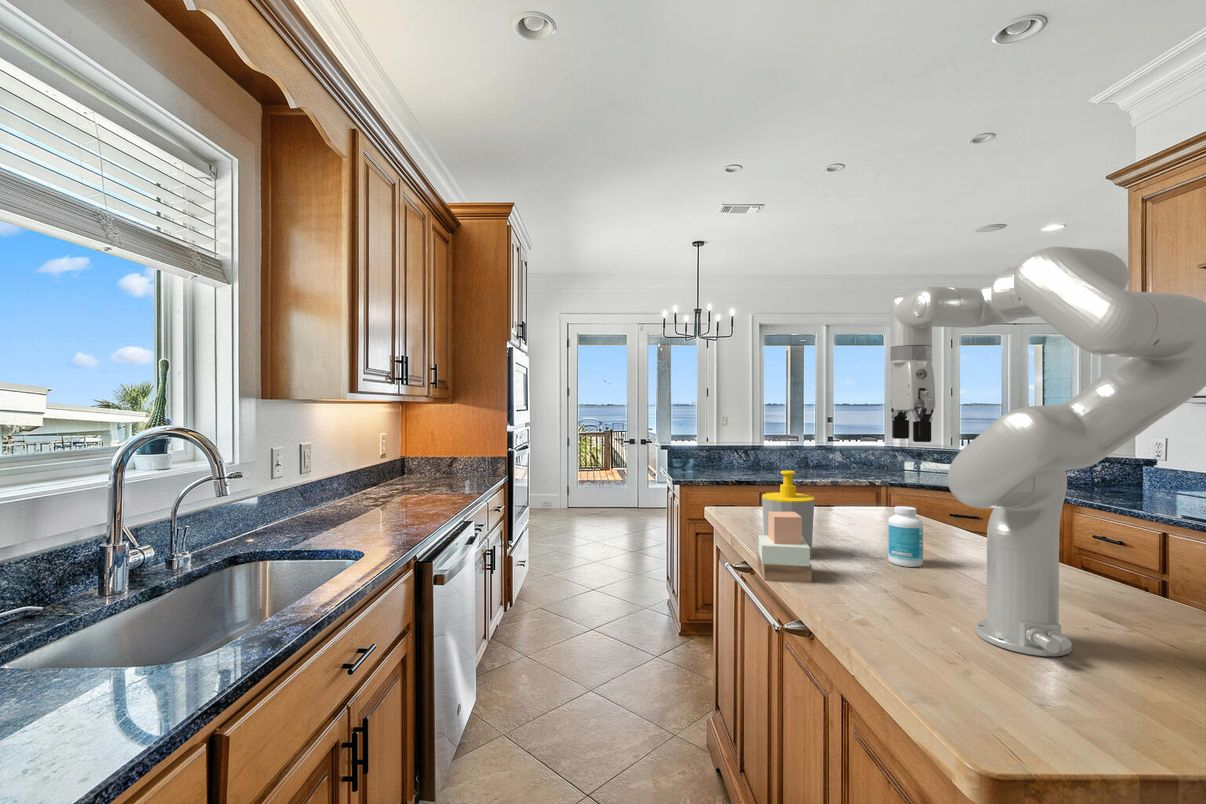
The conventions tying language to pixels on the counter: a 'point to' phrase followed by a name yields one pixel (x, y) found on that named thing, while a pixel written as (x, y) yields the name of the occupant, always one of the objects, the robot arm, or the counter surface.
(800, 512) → the soap bottle
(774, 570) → the tower base
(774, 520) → the cube
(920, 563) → the pill bottle
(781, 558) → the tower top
